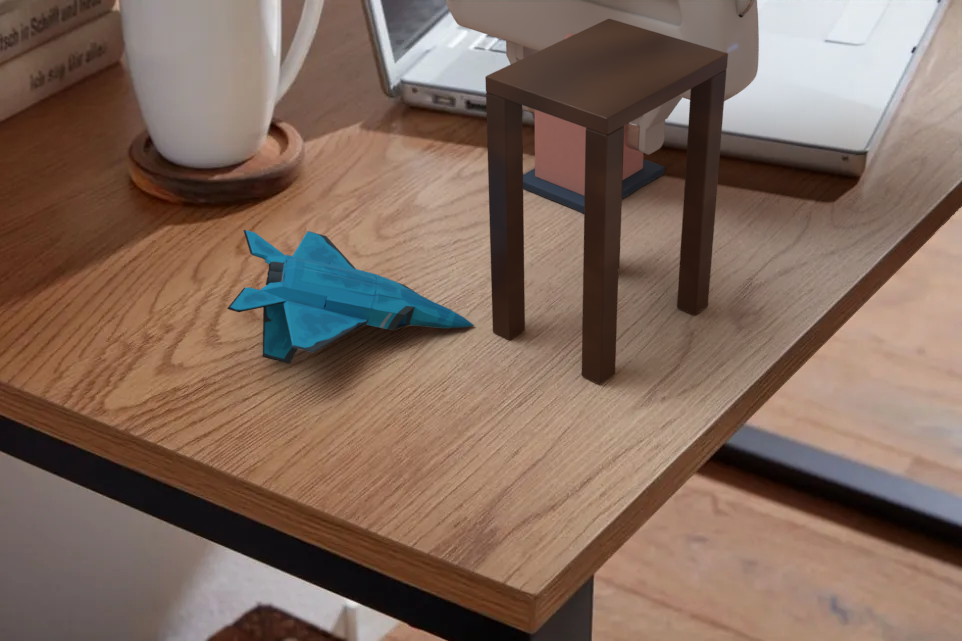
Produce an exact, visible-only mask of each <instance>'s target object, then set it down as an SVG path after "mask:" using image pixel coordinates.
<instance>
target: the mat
mask: <svg viewBox="0 0 962 641" xmlns="http://www.w3.org/2000/svg"><path fill="white" fill-rule="evenodd" d="M665 168H666V167H665V166H664V165H661V164H659V163H655V162H653V161H650V160H649V159H645V158H643V169H641V170H639V171H638V172H636V173H634V174H633V175H631V176H629V177H628V178H626V179H624V180H622V200H623V199H624V198H626V197H628V196H630V195H631V194H632V193H634V192H636V191H637V190H639V189H641V188H642V187H645V186H646V185H648V184H649V183H651V182H653V181H654V180H656V179H657V178H660V177H661V176H662V175H664V174H665ZM523 190H526V191H528V192H530V193H532V194H536V195H538V196H540V197H543V198H545V199H548V200H550V201H553V202H556V203H558V204H560V205H563V206H565V207H568V208H570V209H573V210H575V211H577V212H580V213H582V214H584V197H585V196H583V195H581V194H578V193H576V192H573V191H571V190H568V189H565V188H563V187H560V186H558V185H555V184H553V183H550V182H548V181H545V180H543V179H540V178H538V177H535V167H534V168H532V169H530V170H529V171H526V172H525V173H523Z"/></svg>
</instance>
